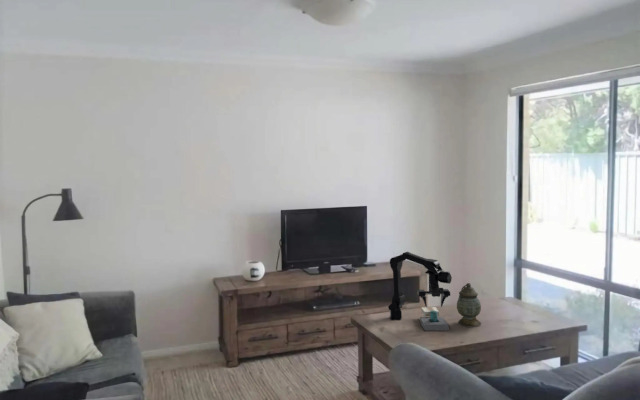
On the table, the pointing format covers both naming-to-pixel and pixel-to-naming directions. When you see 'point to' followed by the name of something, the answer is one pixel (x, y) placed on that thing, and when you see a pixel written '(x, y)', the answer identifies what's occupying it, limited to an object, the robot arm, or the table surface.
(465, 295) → the lidded ginger jar
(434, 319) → the teal peg
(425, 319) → the socket block
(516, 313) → the table surface
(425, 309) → the sliding lid
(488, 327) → the table surface
